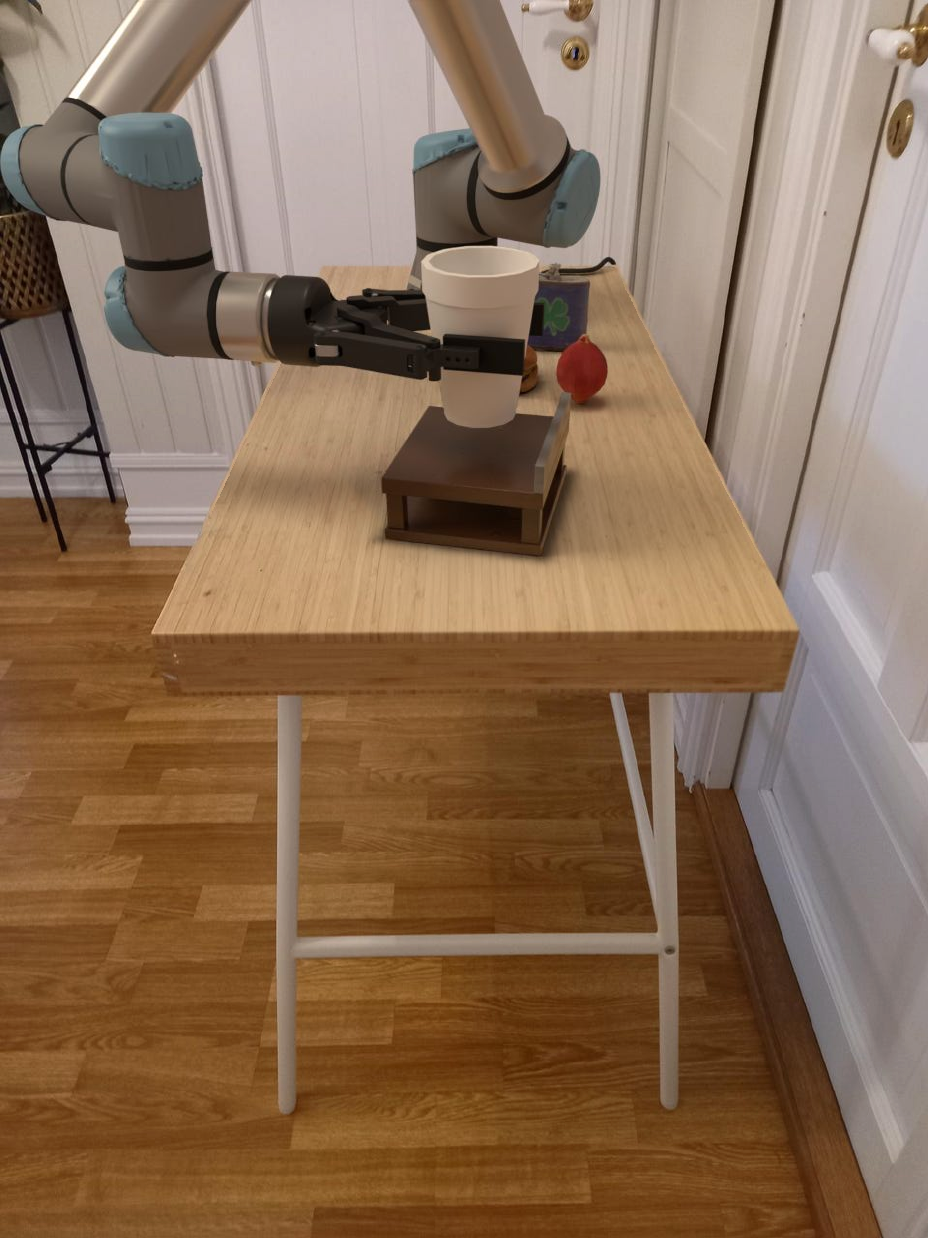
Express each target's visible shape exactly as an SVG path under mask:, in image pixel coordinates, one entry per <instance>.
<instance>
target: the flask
mask: <svg viewBox="0 0 928 1238" xmlns="http://www.w3.org/2000/svg"><path fill="white" fill-rule="evenodd" d="M548 268H549V269H548V270H549V271H548V272H546V273H541V272H542V271H539V274H541V275H539V286H538V292H537V294H536V295H535V299H534V302H541V303H545V308H544V331H543V335H542V336H530V335H529V336H528V342H527V345H528V346H530V347H531V348H532V349H533V350H534V351H535V350H536V351H552V352H564V351H565V350H566V349H567V348H568V347H569V346H570V345H571V344H573V343H575V342H577V341H578V340H579V338H580V337H581V336H582V335H583V334H586V335H587V331H588V330H587V329H588V320H589V319H588V315H589V314H588V313H589V298H590V289H591V288H590V287H591V281H590V279H589V278H587V277H584V276H560V275H561V273H558V270H559V268H562V264H561V263H558V262H554V263H549V264H548Z"/></svg>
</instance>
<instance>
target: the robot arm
mask: <svg viewBox="0 0 928 1238" xmlns="http://www.w3.org/2000/svg"><path fill="white" fill-rule="evenodd" d="M252 1H253V0H136V1H135V2H134V4H133V5H132V6H131V8H130V9H129V10H128V11H127V13H126V14H125V15H124V17H123V18H122V20H121V21H120V22H119V24H118V25H117V26H116V28H115V29H114V30H113V32H112V33H111V35H110V36H109V37H108V38H107V40H106V41H105V42H104V44H103V45H102V47H101V48H100V49H99V51H98V52H97V53H96V55H95V56H94V58H93V59H92V60H91V62H90V63H89V64H88V66H87V67H85V70H84V71H83V72H82V74H81V75H80V77H79V78H78V79H77V80H76V82H75V83H74V85H73V86H72V87H71V89H70V90H69V91H68V93H67V94H66V95H65V96H64V98H63V100H62V101H61V102H60V104H59V105H58V106H57V107H56V109H55V110H54V111H53V113H52V114H51V115H50V117H49V118H48V119H47V120H46V121H45V123H44V124H41V123H39V124H37V123H34V124H32V125H29V126H28V125H26V126H22V127H20V128H18V129H16V130H14V131H13V132H11V133H10V134H9V135H8V136H7V137H6V139H5V141H4V143H3V145H2V149H1V151H0V172H1V176H2V179H3V182H4V184H5V186H6V188H7V190H8V192H9V193H10V194H11V195H12V196H13V198H14V199H15V201H16V202H17V203H19V204H20V205H21V206H23V207H24V208H26V209H27V210H29V211H31V212H34V213H36V214H40V215H41V216H44V217H47V218H49V219H50V220H54V221H57V222H69V223H77V224H80V225H86V226H91V227H94V228H99V229H103V230H107V231H111V232H115V233H117V235H118V237H119V244H120V249H121V252H122V257H123V260H124V265H122V266H119V267H117V268H115V269H114V270H113V271H112V272H111V274H109V276H108V278H107V280H106V283H105V286H104V291H103V294H104V297H105V304H104V306H103V313H104V318H105V321H106V325H107V327H108V330H109V332H110V333H111V335H112V336H113V338H114V339H115V340H116V341H117V342H118V344H120V345H121V346H123V347H124V348H125V349H128V350H130V351H132V352H133V351H134V352H140V353H146V354H147V353H148V354H153V355H159V356H162V357H165V358H166V357H168V358H170V357H171V358H175V357H183V358H198V359H199V358H200V359H201V358H202V359H217V360H218V359H219V360H227V361H242V362H243V361H244V362H250V364H251V366H253V367H260V366H261V365H262V363H269V364H276V363H278V362H280V363H281V364H283V365H286V366H297V367H310V368H311V367H312V368H318V367H321V366H328V367H329V366H330V367H346V368H350V369H356V370H361V371H366V372H367V371H368V372H373V373H378V374H384V375H390V376H396V377H400V378H401V377H402V378H407V379H412V380H418V381H423V380H425V379H427V378H428V382H439V380H441V367H443V370H454V371H466V372H479V373H492V374H505V375H518V376H523V374H524V361H525V339H514V338H500V337H486V336H472V335H457V334H444V336H443V344H440V339H439V338H435V337H432V335H427V334H425V333H421V332H422V331H431V328H430V322H429V316H428V309H427V303H426V297H425V295H424V293H423V292H422V269H421V261H422V260H423V259H424V258H425V257H426V256H427V255H428V254H431V253H434V252H437V251H440V250H443V249H449V248H457V247H464V246H497V247H499V245H498V243H499V242H498V241H499V240H498V239H502V240H508V241H513V242H519V243H523V244H529V245H534V246H540V247H544V248H546V249H549V248H558V249H568V248H569V247H572V246H574V245H576V244H577V243H579V242H580V241H581V239H583V237H584V235H585V234H586V233H587V230H588V229H589V227H590V225H591V223H592V220H593V219H594V215H595V213H596V209H597V207H598V202H599V197H600V193H601V168H600V164H599V160H598V157H596V155H595V154H594V153H593V152H591V151H587V150H586V149H583V148H580V149H579V150H578V149H574V148H573V147H572V145H571V143H570V139H569V138H568V135H567V132H566V130H565V128H564V126H563V124H562V123H561V122H560V121H559V120H558V119H557V118H556V117H554V116H552V115H548V114H546V113H545V112H544V108H543V106H542V104H541V101H540V99H539V96H538V93H537V91H536V89H535V86H534V84H533V83H534V82H533V81H532V78H531V75H530V73H529V71H528V69H527V65H526V63H525V61H524V58H523V56H522V53H521V50H520V48H519V46H518V43H517V40H516V38H515V35H514V33H513V30H512V28H511V25H510V23H509V20H508V18H507V15H506V13H505V10H504V8H503V5H502V3H501V0H407V3H408V5H409V7H410V9H411V12H412V14H413V15H414V17H415V19H416V21H417V23H418V25H419V27H420V29H421V31H422V33H423V35H424V38H425V40H426V42H427V43H428V45H429V48H430V50H431V52H432V54H433V56H434V58H435V61H436V63H437V64H438V66H439V68H440V70H441V72H442V74H443V77H444V79H445V80H446V82H447V84H448V86H449V89H450V91H451V93H452V95H453V97H454V99H455V102H456V103H457V105H458V107H459V109H460V111H461V113H462V115H463V117H464V119H465V121H466V123H467V125H468V128H460V129H452V130H446V131H439V132H434V133H430V134H426V135H423V136H421V137H420V138H418V139H417V140H416V142H415V143H414V146H413V163H412V164H413V167H412V169H411V173H412V181H413V198H414V199H413V202H414V203H413V204H414V205H413V206H414V222H415V223H414V224H415V238H416V239H415V243H416V244H415V245H416V250H415V255H414V259H413V262H412V266H411V270H410V273H409V276H408V280H407V285H406V289H380V288H371V287H366V288H363V289H361V294H357V295H349V296H347V297H346V299H340V300H339V299H336V298H335V296H334V295H333V292H332V291H331V287H330V286H329V284H328V282H327V281H326V280H324V279H323V278H321V277H320V276H311V275H310V276H309V275H294V274H284V275H282V276H280V275H278V274H277V273H271V272H270V273H269V272H268V273H267V272H265V273H264V272H247V271H245V272H244V271H227V270H226V271H222V270H218V269H216V263H215V257H214V251H213V247H212V239H211V231H210V225H209V219H208V211H207V204H206V196H205V190H204V189H205V188H204V182H203V177H204V173H203V171H204V170H203V167H202V165H201V162H200V160H199V156H198V152H197V146H196V141H195V137H194V132H193V128H192V126H191V124H190V122H189V121H188V120H187V119H186V118H184V116H182V115H179V114H175V113H173V112H174V110H175V109H176V107H177V106H178V104H179V103H180V102H181V100H182V99H183V98H184V96H185V95H186V94H187V92H188V91H189V89H190V88H191V86H192V85H193V84H194V83H195V81H196V80H197V78H198V77H199V75H200V74H201V72H202V71H203V70H204V69H205V67H206V65H207V64H208V63H209V61H210V60H211V58H212V57H213V56H214V54H215V53H216V52H217V50H218V49H219V47H220V46H221V45H222V43H223V42H224V40H225V39H226V37H227V36H228V34H229V33H230V32H231V30H232V29H233V28H234V26H235V25H237V22H238V21H239V20H240V18H241V17H242V16H243V14H244V13H245V11H246V10H247V8H248V7H249V5H250V4H251V3H252ZM607 263H609V264H610V265H611V266H616V265H617V262H616V261H615V259H614V258H612V257H611V256H606V257H605V258H603V259H602V260H601V261H600V262H599V263H598V264H596V265H594V266H592V267H584V268H578V267H577V268H574V267H573V268H571V267H570V268H569V267H568V268H565V267H564V268H563V267H560V268H559V270H558V273H560V274H591V273H595V272H598V271H599V270H601V269H602V268H603V267H605V265H607ZM548 271H549V269H544V270H542V271H540V272H541V273H546V272H548ZM539 275H541V274H539ZM544 308H545V303H541V302H534V305H533V311H532V318H531V324H530V330H529V335H530V336H542V335H543V331H544Z"/></svg>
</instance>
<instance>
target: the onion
mask: <svg viewBox="0 0 928 1238" xmlns="http://www.w3.org/2000/svg"><path fill="white" fill-rule="evenodd" d="M557 360H558V361H557V364H556V369H555V370H556V372H555V376H556V381H557V383H558V385H559V387H560V388H561V390H562V391H563V392H567V393H571V399H573V401H574V402H575V403H577V404H583V403H585V402H587V401H588V400H589V399H591V398H592V397H593V396H594V395H596V394H597V393H599V392H600V391H601V390H602V389H603V388H604V386H605V384H606V381H607V379H608V373H609V369H608V368H609V367H608V362H607V361H608V360H607V359H606V356H605V355H604V353H603V352H602V350H601V349H600V347H598V346H597V345H596V344H595V343H594V342H592V341H591V340H590V335H588V334H587V333H586V334H583V335H582V336H581V337H580V338H579V340H578V341H577V342H575V343H573V344H571V345H570V346H569V347H568V348H567V349H566V350H565V351H562V353H561V354H560V356H559V358H558V359H557Z"/></svg>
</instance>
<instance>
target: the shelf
mask: <svg viewBox="0 0 928 1238" xmlns="http://www.w3.org/2000/svg"><path fill="white" fill-rule="evenodd" d="M571 402H572V398H571V393H567V392H564V391H563V392H562V394H561V396H560V399H559V401H558V404H557V406H556V409H555V412H554V415H542V414H530V413H529V414H528V413H517V412H516V414H515V416H514V419H513V420H511V421H509V422H507V423H506V424H504V425H500V426H495V427H490V428H470V427H465V426H460V425H456V424H454V423H453V422H451V421H449V420H447V418H446V416H445V414H444V408H443V406H434V405H428V407H427V408H426V410H425V411H424V413H423V414H422V416H421V417H420V419H419V420H418V421H417V423H416V425H415V426H414V428H413V429H412V431H411V432H410V433H409V435H408V437H406V440H405V441H404V443H403V444H402V445H401V447H400V449H399V450H398V452H397V453H396V455H395V456H394V458H393V459H392V460H391V462H390V464H389V466H388V467H387V468H386V470H385V471H384V473H383V474H382V476H381V478H380V483H381V493H382V494H384V495H385V505H386V518H387V519H386V521H387V524H386V526H385V527H384V530H383V531H384V539H387V540H394V541H405V542H413V543H421V544H422V543H423V544H431V545H441V546H448V547H449V546H450V547H457V548H467V549H475V550H484V551H493V552H502V553H511V554H519V555H520V554H521V555H527V556H528V555H529V556H536V557H537V556H538V557H540V556H541V555H542V551H543V549H544V546H545V542H546V540H547V537H548V533H549V530H550V526H551V523H552V520H553V516H554V513H555V510H556V507H557V504H558V501H559V498H560V495H561V492H562V489H563V485H564V483H565V478H566V475H567V467H568V466H567V464H565V456H566V441H567V438H568V435H569V433H570V419H571Z"/></svg>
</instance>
